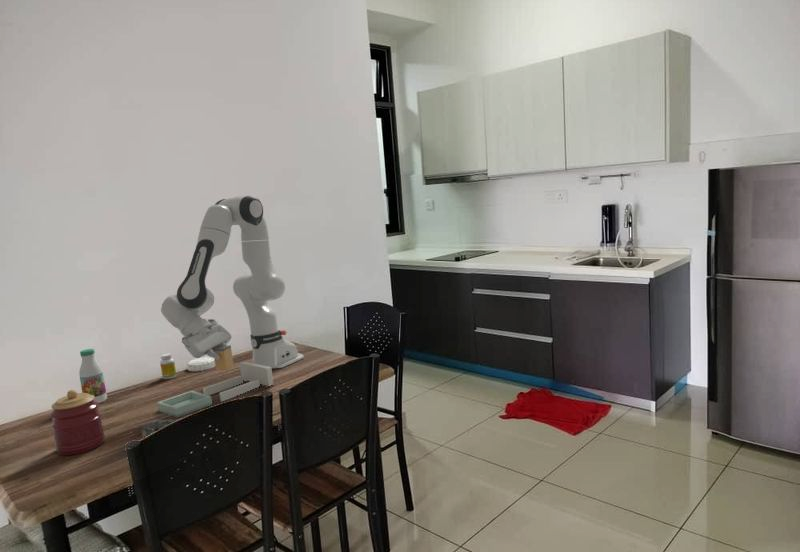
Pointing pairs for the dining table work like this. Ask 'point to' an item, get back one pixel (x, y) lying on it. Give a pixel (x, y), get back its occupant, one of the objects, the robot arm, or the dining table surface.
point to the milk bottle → (92, 376)
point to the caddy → (224, 358)
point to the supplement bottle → (167, 366)
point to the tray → (184, 403)
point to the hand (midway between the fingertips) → (224, 356)
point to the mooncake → (201, 364)
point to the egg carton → (154, 426)
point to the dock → (248, 373)
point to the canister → (76, 423)
